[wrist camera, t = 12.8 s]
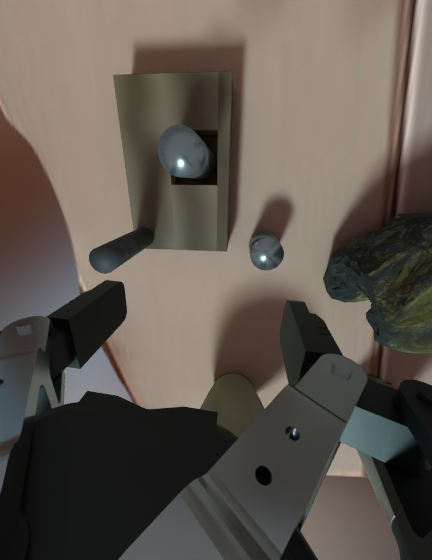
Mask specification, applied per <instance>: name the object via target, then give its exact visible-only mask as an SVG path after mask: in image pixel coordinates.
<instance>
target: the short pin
mask: <svg viewBox="0 0 432 560" xmlns="http://www.w3.org/2000/svg"><path fill="white" fill-rule="evenodd" d="M249 249H250V256H251V261H252V263H253V264H254V265H255V266H256V267H257V268H259V269H261V270H272V269H274V268H276V267H277V266H278V265H279V264H280V263H281V262H282V260H283V257H284V251H283V248H282V246H281V244H280V243H279V241H278V240H277V238H276V237H275V235H274V234H273V233H271V232H269V231H259V232H257V233H255V234H254V235H253V236H252V237H251V239H250V242H249Z"/></svg>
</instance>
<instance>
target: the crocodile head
mask: <svg viewBox="0 0 432 560" xmlns="http://www.w3.org/2000/svg"><path fill="white" fill-rule="evenodd" d="M323 280H324V283H325V287H326V290H327V292H328V294H329V295H330V297H331V298H332V299H336V300H340V301H343V302H358V301H365V300H370V302H371V303H372V302H373V303H372V304H371V306H372V307H371V309H370V310H369V311H368V312H367V313H366V318H367V320H368V322H369V324H370V325H371V327H372V328H373V330H374V340H375V341H377V342H378V343H379V344H380V345H382V346H385V347H387V348H389V349H392V350H397V351H402V352H407V353H432V213H418V214H398V215H396V216H394V217H393V218H392V219H390V220H389V221H388V222H387V223H386V225H385V227H383V228H382V229H381V230H378V231H373V232H370V233H368V234H366V235H364V236H362V237H360V238H358V239H356V240H354V241H352V242H351V243H349V244H347V245H345V246H344V247H342V248H341V249H340V250H338V251H337V252H336V253H335V254H334V255H333V256H332V257H331V259H330V264H329V267H328V270H327V273H326V275H325V277H324V278H323Z"/></svg>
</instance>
